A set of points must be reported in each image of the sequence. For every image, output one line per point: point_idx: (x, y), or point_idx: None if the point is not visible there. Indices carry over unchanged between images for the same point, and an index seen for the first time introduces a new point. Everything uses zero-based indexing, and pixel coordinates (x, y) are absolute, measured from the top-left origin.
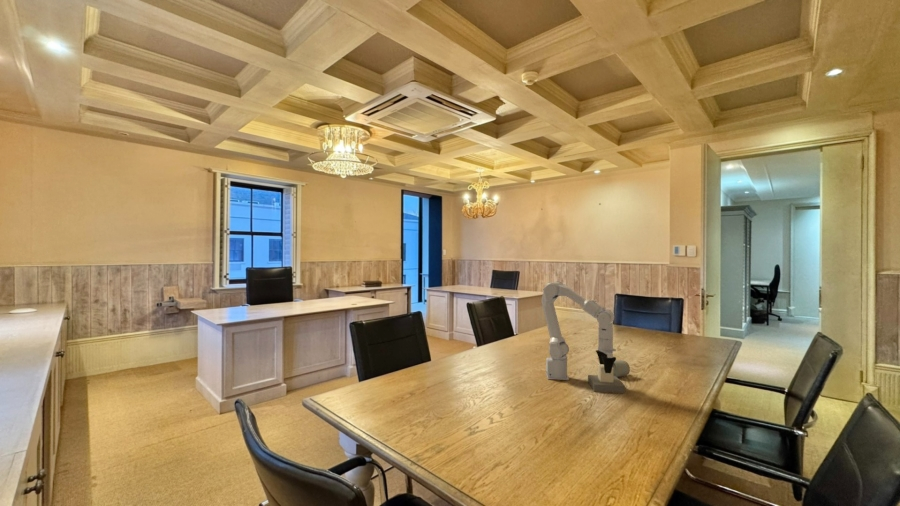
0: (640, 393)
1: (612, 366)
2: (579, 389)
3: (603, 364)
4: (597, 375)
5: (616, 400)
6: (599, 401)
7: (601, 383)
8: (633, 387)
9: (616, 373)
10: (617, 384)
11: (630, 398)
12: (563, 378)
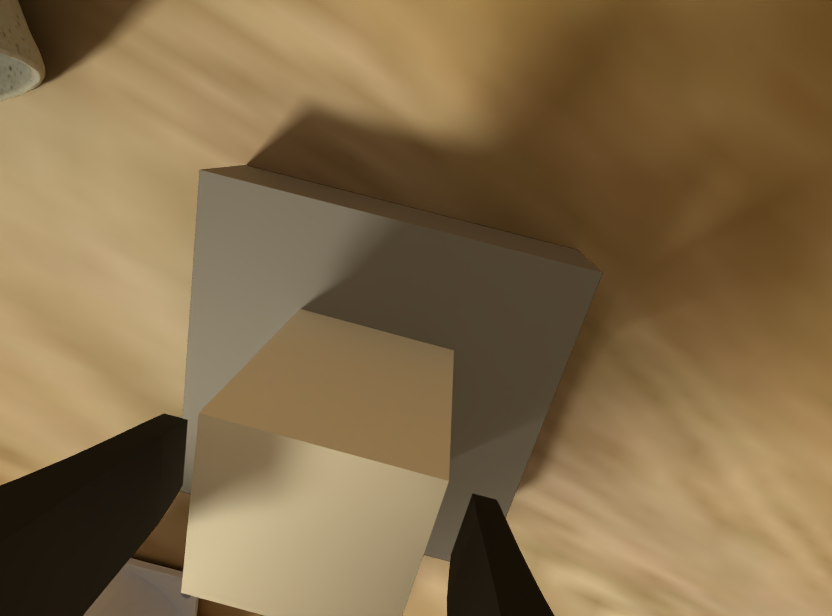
0: (624, 44)
1: (548, 607)
2: (416, 591)
3: (191, 522)
4: (188, 401)
5: (733, 440)
6: (706, 578)
7: (469, 495)
8: (404, 8)
9: (25, 60)
10: (530, 338)
11: (733, 276)
12: (180, 614)
